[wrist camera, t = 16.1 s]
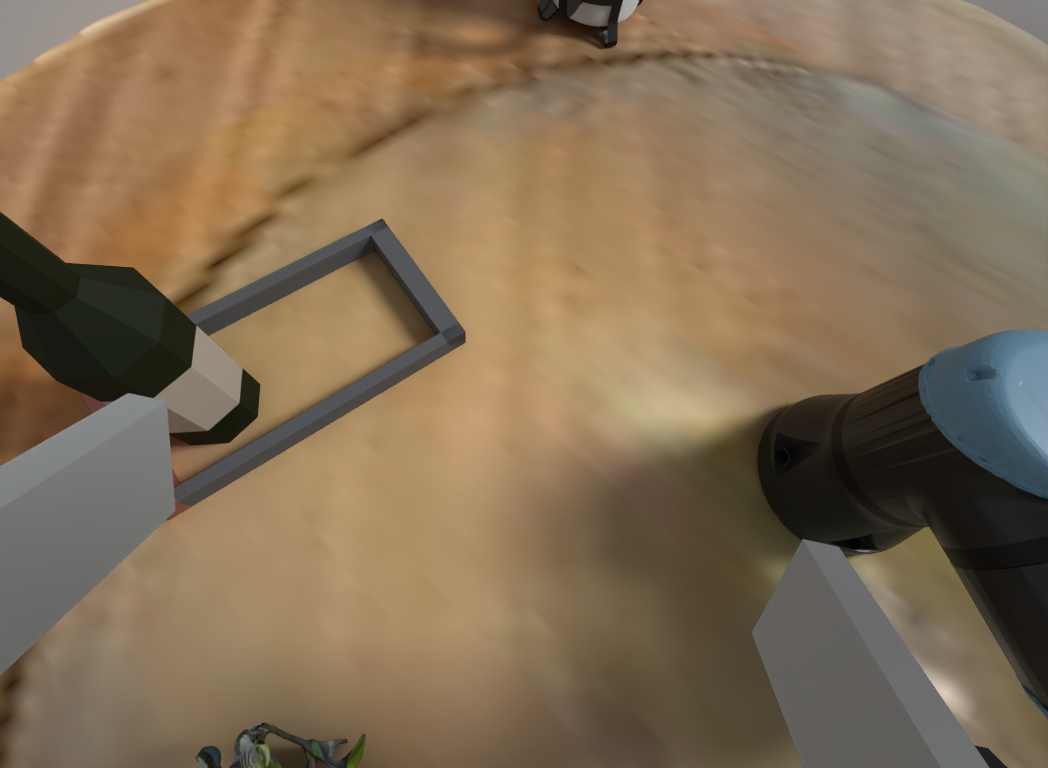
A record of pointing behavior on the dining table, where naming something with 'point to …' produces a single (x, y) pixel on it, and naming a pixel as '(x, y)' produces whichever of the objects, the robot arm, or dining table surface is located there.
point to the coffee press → (593, 14)
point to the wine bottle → (122, 340)
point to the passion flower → (257, 764)
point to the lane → (346, 399)
